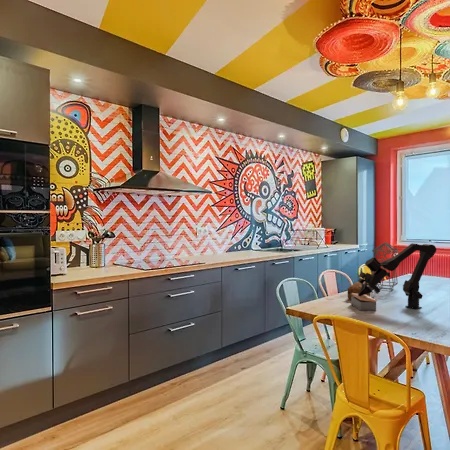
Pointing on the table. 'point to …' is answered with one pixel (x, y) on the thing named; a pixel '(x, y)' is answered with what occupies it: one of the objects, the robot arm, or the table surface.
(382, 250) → the geometric lantern
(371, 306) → the storage box
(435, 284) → the table surface
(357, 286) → the bread
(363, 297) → the lid
